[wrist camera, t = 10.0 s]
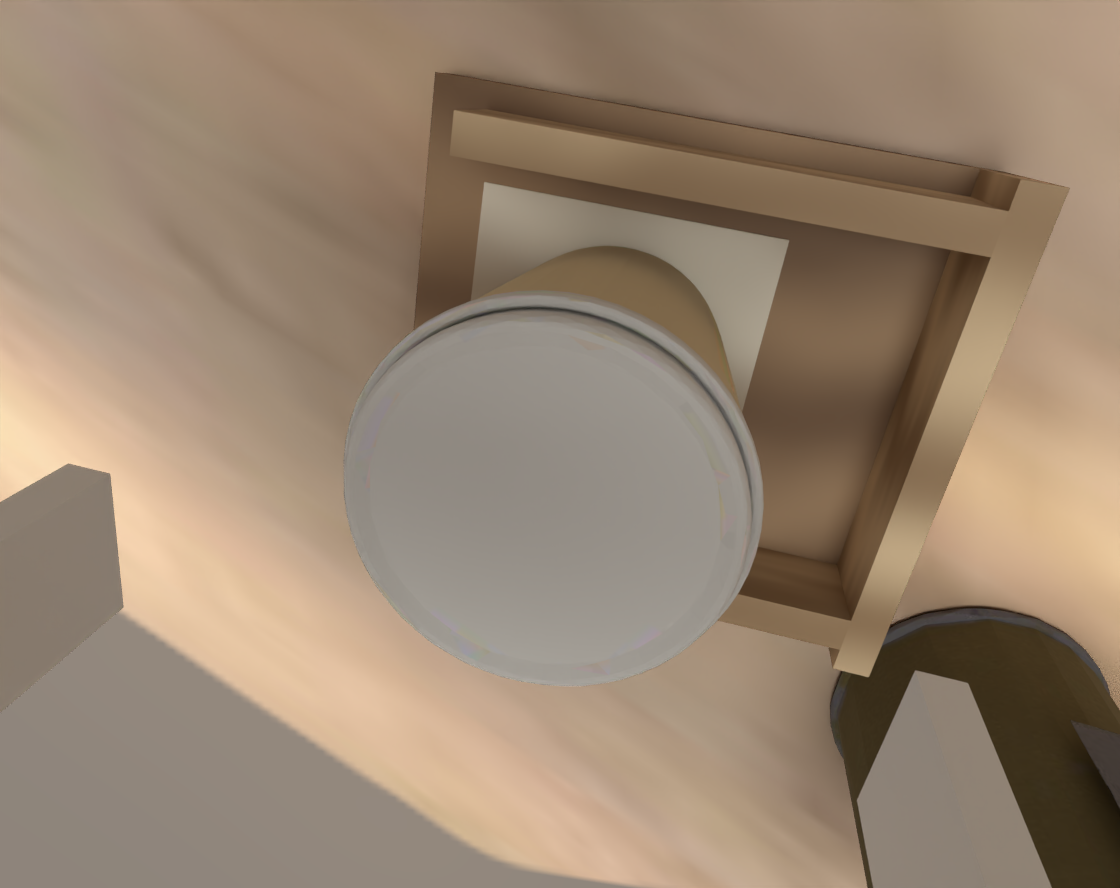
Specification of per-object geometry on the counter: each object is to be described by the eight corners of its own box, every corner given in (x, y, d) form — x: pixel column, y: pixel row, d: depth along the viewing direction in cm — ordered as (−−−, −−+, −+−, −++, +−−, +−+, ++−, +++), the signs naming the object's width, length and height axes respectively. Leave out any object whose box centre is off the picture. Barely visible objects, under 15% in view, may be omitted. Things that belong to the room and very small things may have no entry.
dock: (450, 73, 27) (394, 67, 22) (1005, 172, 25) (1069, 188, 20) (411, 492, 33) (363, 553, 29) (847, 594, 31) (868, 677, 27)
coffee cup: (485, 470, 30) (355, 676, 19) (471, 216, 27) (300, 296, 16) (736, 486, 29) (746, 721, 18) (757, 219, 25) (787, 309, 14)
